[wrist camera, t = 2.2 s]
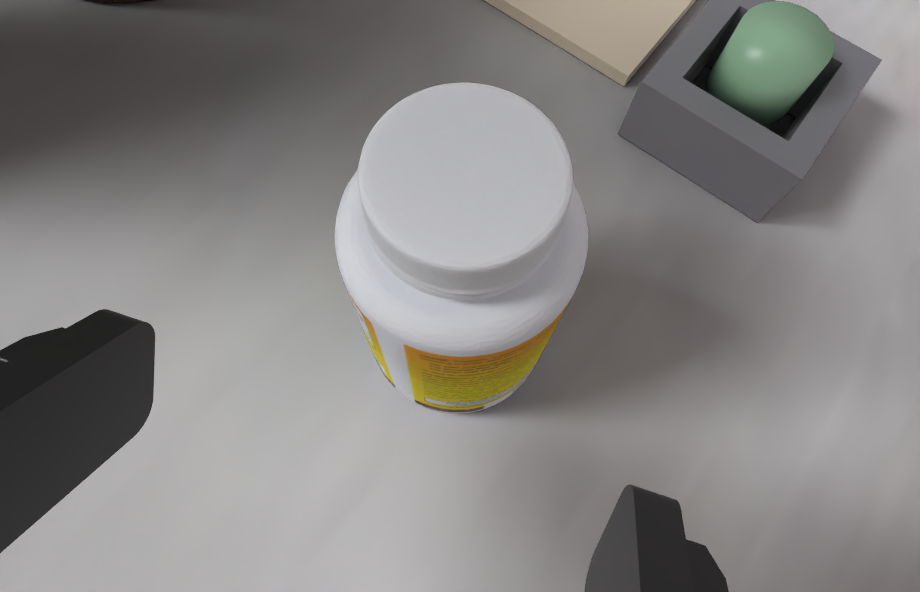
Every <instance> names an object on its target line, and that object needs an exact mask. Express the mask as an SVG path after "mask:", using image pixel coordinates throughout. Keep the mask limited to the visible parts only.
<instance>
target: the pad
mask: <svg viewBox="0 0 920 592" xmlns="http://www.w3.org/2000/svg"><path fill="white" fill-rule="evenodd" d="M484 1H486V2H487V3H489V4H491V5H492V6H494V7H496V8H497V9H499V10H500V11H502V12H504V13H505V14H507V15H509V16H510V17H512V18H513V19H515V20H517V21H518V22H520V23H522V24H523V25H525V26H526V27H528V28H530V29H531V30H533V31H535V32H536V33H538V34H539V35H541V36H543V37H544V38H546V39H548V40H549V41H551V42H552V43H554V44H556V45H557V46H559V47H561V48H562V49H564V50H565V51H567V52H569V53H570V54H572V55H574V56H575V57H577V58H578V59H580V60H582V61H583V62H585V63H587V64H588V65H590V66H591V67H593V68H595V69H596V70H598V71H600V72H601V73H603V74H604V75H606V76H608V77H609V78H611V79H613V80H614V81H616V82H617V83H619V84H621V85H622V86H625V85H626V84H627V82H628V81H629V80H630V79H631V78H632V76H633V75H634V74H635V73H636V72H637V71H638V69H639V68H640V67H641V66H642V65H643V63H644V62H645V61H646V60H647V59H648V57H649V56H650V55H651V54H652V53H653V51H654V50H655V49H656V48H657V47H658V45H659V44H660V43H661V42H662V41H663V39H664V38H665V37H666V36H667V35H668V34H669V32H670V31H671V30H672V29H673V28H674V26H675V25H676V24H677V23H678V22H679V20H680V19H681V18H682V17H683V16H684V14H685V13H686V12H687V11H688V10H689V8H690V7H691V6H692V5H693V4H694V2H695V1H696V0H484Z"/></svg>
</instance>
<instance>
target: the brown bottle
mask: <svg viewBox="0 0 920 592" xmlns="http://www.w3.org/2000/svg"><path fill="white" fill-rule="evenodd" d="M95 1H102V2H137V1H144V0H95Z"/></svg>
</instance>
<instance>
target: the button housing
mask: <svg viewBox="0 0 920 592" xmlns="http://www.w3.org/2000/svg"><path fill="white" fill-rule="evenodd" d="M771 1H775V0H708V2H707V3H706V4H705V5H704V6H703V8H702V9H701V10H700V11H699V12H698V14H697V15H696V16H695V17H694V18H693V20H692V21H691V22H690V23H689V24H688V26H687V27H686V28H685V29H684V31H683V32H682V33H681V34H680V35H679V37H678V38H677V39H676V40H675V41H674V43H673V44H672V45H671V46H670V47H669V49H668V50H667V51H666V52H665V53H664V55H663V56H662V57H661V58H660V59H659V61H658V62H657V63H656V64H655V66H654V67H653V68H652V69H651V70H650V72H649V73H648V74H647V75H646V76H645V78H644V79H643V80H642V81H641V83H640V86H639V88H638V90H637V92H636V95H635V97H634V99H633V101H632V103H631V106H630V108H629V110H628V112H627V115H626V117H625V119H624V121H623V124H622V126H621V128H620V130H619V133H618V134H619V135H620V136H622V137H623V138H625V139H626V140H628V141H630V142H631V143H633V144H634V145H636V146H637V147H639V148H641V149H642V150H644V151H645V152H647V153H649V154H650V155H652V156H653V157H655V158H656V159H658V160H660V161H661V162H663V163H664V164H666V165H667V166H669V167H671V168H672V169H674V170H675V171H677V172H678V173H680V174H682V175H683V176H685V177H686V178H688V179H690V180H691V181H693V182H694V183H696V184H697V185H699V186H701V187H702V188H704V189H705V190H707V191H708V192H710V193H712V194H713V195H715V196H716V197H718V198H719V199H721V200H723V201H724V202H726V203H727V204H729V205H730V206H732V207H734V208H735V209H737V210H738V211H740V212H742V213H743V214H745V215H746V216H748V217H749V218H751V219H753V220H754V221H756V222H759V221H760V220H761V219H762V218H763V217H764V216H765V215H766V214H767V213H768V212H769V211H770V210H771V209H772V208H773V207H774V206H775V205H776V204H777V203H778V202H779V201H780V200H781V199H782V198H783V197H784V196H786V195H787V194H788V193H789V192H790V191H791V190H792V189H793V188H794V187H795V186H796V185H797V184H798V183H799V182H800V181H801V180H802V179H803V177H804V176H805V174H806V173H807V171H808V170H809V168H810V167H811V165H812V164H813V162H814V161H815V159H816V158H817V156H818V155H819V153H820V152H821V150H822V149H823V147H824V146H825V144H826V143H827V141H828V140H829V138H830V137H831V135H832V134H833V132H834V131H835V129H836V128H837V126H838V125H839V123H840V122H841V120H842V119H843V117H844V116H845V114H846V113H847V111H848V110H849V108H850V107H851V105H852V104H853V102H854V101H855V99H856V98H857V96H858V95H859V93H860V92H861V90H862V89H863V87H864V86H865V84H866V83H867V81H868V80H869V78H870V77H871V75H872V74H873V72H874V71H875V69H876V68H877V66H878V65H879V63H880V62H881V59H879V58H878V57H876V56H874V55H872V54H870V53H869V52H867V51H865V50H863V49H861V48H860V47H858V46H856V45H854V44H852V43H851V42H849V41H847V40H845V39H843V38H842V37H840V36H838V35H836V34H834V33H832V32H831V31H830V33H831V35H832V38H833V43H834V50H833V55H832V58H831V60H830V61H829V63H828V64H827V65H826V66H825V68H824V69H823V70H822V71H821V72H820V74H819V75H818V76H817V77H816V78H815V80H814V81H813V82H812V83H811V84H810V86H809V87H808V88H807V89H806V90H805V92H804V93H803V94H802V95H801V96H800V98H799V99H798V100H797V101H796V102H795V104H794V105H793V106H792V107H791V108H790V110H789V111H788V113H790V114H792V115H793V116H795V117H796V118H795V120H794V121H793V122H792V124H791V125H790V127H789V128H788V130H787V131H786V132H785V134H784V135H783V137H780V136H779V135H777V134H775V133H774V132H772V131H770V130H769V129H767V128H765V127H764V126H762V125H760V124H759V123H757V122H755V121H754V120H752V119H750V118H749V117H747V116H745V115H744V114H742V113H740V112H739V111H737V110H735V109H734V108H732V107H730V106H729V105H727V104H725V103H724V102H722V101H720V100H719V99H717V98H715V97H714V96H712V95H710V94H709V93H707V92H705V91H704V90H702V89H700V88H699V87H697V86H695V85H694V84H692V82H693V81H694V80H695V78H696V77H697V76H698V75H699V73H700V72H701V71H702V69H703V68H704V67H705V66H706V64H707V65H709V66H710V67H712V68H713V66H714V65H715V63H716V61H717V60H718V58H719V56H720V55H721V53H722V51H723V50H724V48H725V46H726V44H727V43H728V41H729V39H730V38H731V36H732V34H733V33H734V31H735V29H736V27H737V26H738V24H739V22H740V21H741V19H742V17H743V16H744V14H745V13H746V12H747V11H748V10H750V9H751V8H752V7H754V6H756V5H759V4H761V3H765V2H771Z"/></svg>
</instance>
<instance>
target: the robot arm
mask: <svg viewBox="0 0 920 592" xmlns="http://www.w3.org/2000/svg"><path fill="white" fill-rule="evenodd" d="M154 355H155V332H154V329H153V327H152V326H151V325H150V324H149V323H146V322H143V321H140V320H137V319H134V318H131V317H128V316H125V315H122V314H119V313H116V312H113V311H110V310H107V309H103V310H99V311H97V312H95V313H93V314H91V315H89V316H88V317H86V318H84V319H82V320H80V321H79V322H77V323H75V324H73V325H71V326H70V327H68V328H66V329H65V328H58V329H54V330H51V331H47V332H43V333H39V334H36V335H32V336H28V337H25V338H23V339H21V340H19V341H17V342H15V343H13V344H11V345H9V346H8V347H6V348H4V349H2V350H0V553H1V552H2V551H3V550H4V549H5V548H7V547H8V546H9V545H10V544H11V543H12V542H13V541H15V540H16V539H17V538H18V537H19V536H20V535H21V534H23V533H24V532H25V531H26V530H27V529H28V528H30V527H31V526H32V525H33V524H34V523H35V522H36V521H38V520H39V519H40V518H41V517H42V516H43V515H44V514H46V513H47V512H48V511H49V510H50V509H51V508H52V507H54V506H55V505H56V504H57V503H58V502H59V501H60V500H62V499H63V498H64V497H65V496H66V495H67V494H69V493H70V492H71V491H72V490H73V489H74V488H75V487H77V486H78V485H79V484H80V483H81V482H82V481H83V480H85V479H86V478H87V477H88V476H89V475H90V474H91V473H93V472H94V471H95V470H96V469H97V468H98V467H99V466H101V465H102V464H103V463H104V462H105V461H106V460H108V459H109V458H110V457H111V456H112V455H113V454H114V453H116V452H117V451H118V450H119V449H120V448H121V447H122V446H124V445H125V444H126V443H127V442H128V441H129V440H130V439H132V438H133V437H134V436H135V435H136V434H137V433H138V432H139V430H140V429H141V428H142V426H143V425H144V423H145V422H146V420H147V418H148V416H149V413H150V411H151V407H152V403H153V387H154ZM585 592H728V587H727V583H726V578H725V577H724V575H723V574H722V572H721V570H720V569H719V567H718V566H717V564H716V562H715V561H714V559H713V558H712V556H711V554H710V553H709V551H708V549H707V548H706V546H704V545H701V544H698V543H695V542H692V541H689V540H686V538H685V532H684V526H683V520H682V514H681V508H680V504H679V502H678V501H677V500H675V499H672V498H669V497H666V496H663V495H660V494H657V493H654V492H651V491H648V490H645V489H642V488H639V487H636V486H633V485H627V486H626V487H625V489H624V490H623V492H622V494H621V496H620V498H619V500H618V502H617V504H616V506H615V509H614V511H613V513H612V515H611V517H610V519H609V522H608V524H607V526H606V528H605V530H604V532H603V534H602V537H601V539H600V541H599V543H598V545H597V547H596V549H595V552H594V554H593V557H592V559H591V563H590V566H589V570H588V574H587V579H586V585H585Z"/></svg>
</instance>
